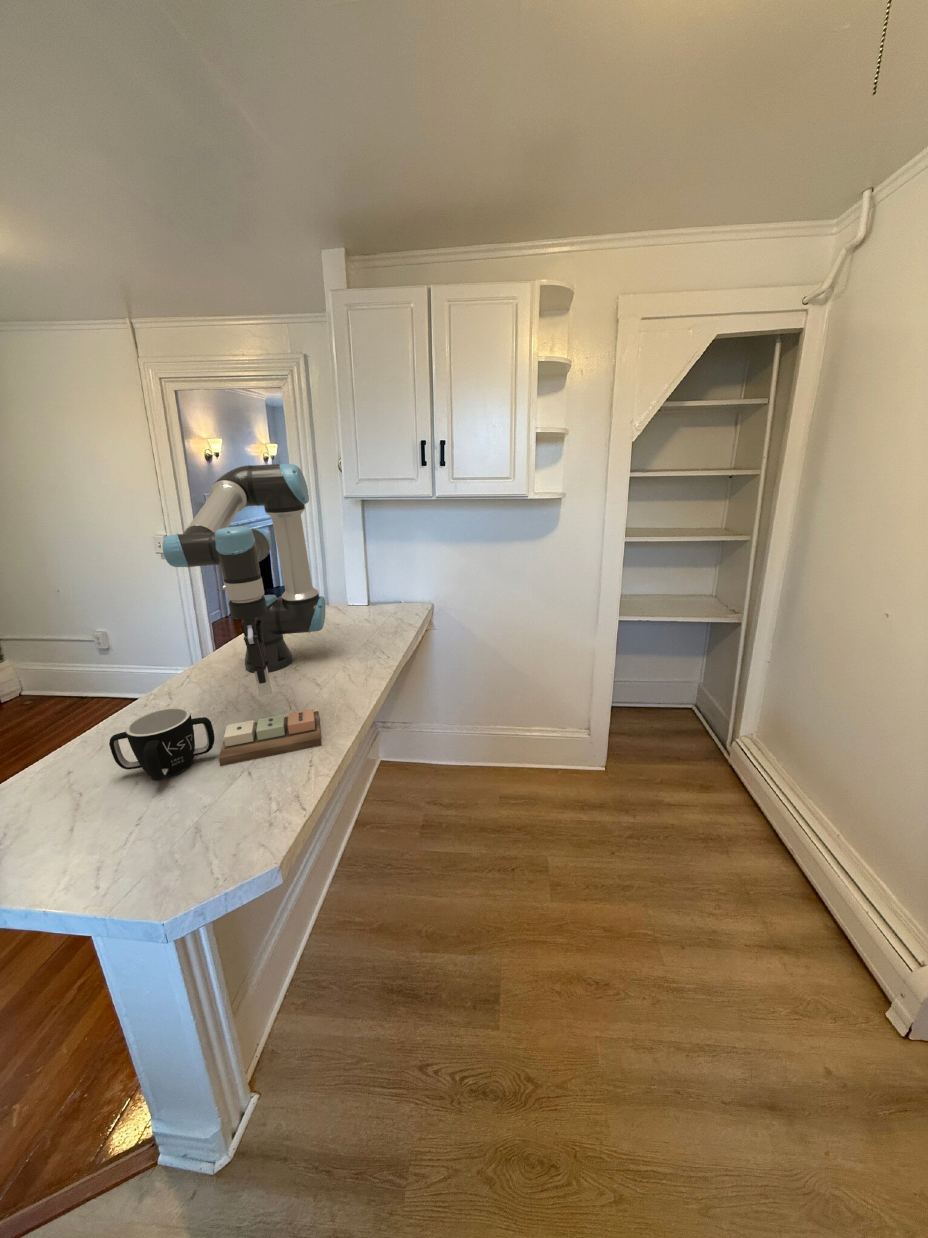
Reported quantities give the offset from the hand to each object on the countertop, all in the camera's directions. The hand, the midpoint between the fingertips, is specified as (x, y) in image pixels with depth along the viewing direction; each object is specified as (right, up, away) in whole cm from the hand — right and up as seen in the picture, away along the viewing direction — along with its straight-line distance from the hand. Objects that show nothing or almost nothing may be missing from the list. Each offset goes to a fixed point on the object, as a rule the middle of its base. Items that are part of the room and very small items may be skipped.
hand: (265, 692), depth 112 cm
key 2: (0, -10, +3) cm, 10 cm away
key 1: (-6, -11, +1) cm, 12 cm away
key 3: (+7, -9, +5) cm, 12 cm away
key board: (+1, -12, +4) cm, 13 cm away
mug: (-19, -16, -5) cm, 26 cm away
